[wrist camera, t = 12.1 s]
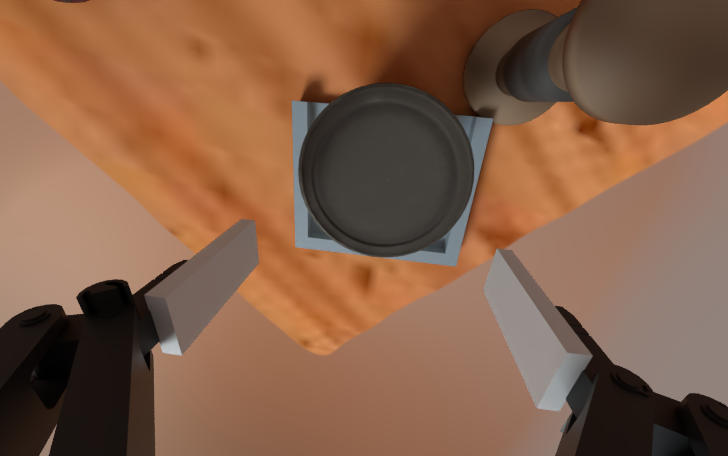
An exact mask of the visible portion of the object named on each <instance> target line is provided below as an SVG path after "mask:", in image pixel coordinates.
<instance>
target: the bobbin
mask: <svg viewBox="0 0 728 456" xmlns="http://www.w3.org/2000/svg"><path fill="white" fill-rule="evenodd" d="M463 88H464V93H465V97H466V100H467V102H468V104H469V106H470V107H471V109H472V110H473V111H474V112H475V113H476V114H477V115H478V116H479V117H483V118H492V119H493V122H492V123H495V124H501V125H518V124H522V123H526V122H528V121H531V120H533V119H535V118H537V117H539V116H540V115H542V114H543V113H545V112H546V111H547V110H548V109H550V108H551V107H552V106H553V105H554V104H555V103H556V102H575V104H576V105H577V106H578V107H579V108H580V109H581V110H582V111H584V112H585V113H586V114H588V115H589V116H591V117H593V118H595V119H598V120H601V121H604V122H609V123H617V124H628V125H653V124H660V123H664V122H669V121H672V120H675V119H678V118H681V117H684V116H686V115H688V114H691V113H693V112H695V111H697V110H699V109H700V108H702V107H704V106H706V105H708V104H709V103H711V102H712V101H714V100H715V99H717V98H718V97H720V96H721V95H722V94H723V93H725V92H726V91H727V90H728V0H582V1H581V2H580V4H579V6H578V7H577V8H575V9H573V10H571V11H569V12H567V13H565V14H563V15H561V16H560V17H557V16H555V15H553V14H552V13H550V12H546V11H543V10H537V9H529V10H522V11H518V12H515V13H512V14H510V15H508V16H506V17H504V18H503V19H501V20H499V21H498V22H497V23H495V24H494V25H493V26H492V27H490V28H489V29H488V30H487V31H486V32H485V33H484V34H483V35H482V36H481V37H480V38H479V39H478V41H477V42H476V43H475V45H474V46H473V48H472V50H471V52H470V54H469V56H468V58H467V61H466V64H465V68H464V74H463Z"/></svg>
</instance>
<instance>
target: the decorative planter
mask: <svg viewBox="0 0 728 456" xmlns="http://www.w3.org/2000/svg"><path fill="white" fill-rule="evenodd" d="M54 1H59V2H67V3H80V2H86V1H89V0H54Z"/></svg>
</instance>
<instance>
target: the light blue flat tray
mask: <svg viewBox="0 0 728 456" xmlns="http://www.w3.org/2000/svg"><path fill="white" fill-rule="evenodd" d="M327 105H329V104H328V103H317V102H306V101H292V124H293V165H294V205H295V245H296V247H299V248H308V249H316V250H324V251H332V252H341V253H349V254H357V255H363V254H359V253H356V252H354V251H351V250H349V249H347V248H345V247H343V246H341V245H340V244H338V243H336V242H335V241H333V240H332V239H331V238H330V237H329V236H327V235H326V234H325V233H324V231H322V230H321V229H320V227H319V226H318V225H317V224H316V222H315V221H314V220H313V218H312V217H311V215H310V213H309V212H308V210H307V207H306V205H305V203H304V200H303V197H302V195H301V190H300V185H299V177H298V165H299V156H300V151H301V147H302V144H303V141H304V138H305V136H306V134H307V132H308V130H309V128H310V126H311V125H312V123H313V121H314V120H315V119H316V118H317V116H318V115H319V114H320V113H321V112H322V110H323V109H324V108H325V107H326V106H327ZM455 116H456V117H457V119H458V120H459V122H460V123H461V125H462V126H463V128H464V130H465V132H466V134H467V136H468V138H469V141H470V144H471V147H472V151H473V158H474V183H473V188H472V193H471V196H470V199H469V202H468V204H467V207H466V209H465V210H464V212H463V214H462V216H461V217H460V219H459V220H458V221H457V223H456V224H455V225H454V226H453V228H452V229H451V230H450V231H449V232H448V233H447V234H446V235H445V236H443V237H442V238H441V239H440V240H438V241H437V242H436V243H434V244H432V245H431V246H429V247H427V248H425V249H423V250H420V251H418V252H416V253H412V254H408V255H404V256H399V257H382V258H390V259H398V260H407V261H415V262H423V263H431V264H440V265H448V266H456V264H457V260H458V256H459V252H460V248H461V244H462V240H463V237H464V233H465V229H466V225H467V221H468V217H469V213H470V209H471V205H472V201H473V197H474V193H475V189H476V185H477V181H478V177H479V173H480V169H481V166H482V162H483V158H484V154H485V150H486V146H487V142H488V138H489V134H490V130H491V126H492V122H493V119H492V118H483V117H475V116H464V115H455ZM365 256H367V255H365Z"/></svg>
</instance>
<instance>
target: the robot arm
mask: <svg viewBox="0 0 728 456" xmlns="http://www.w3.org/2000/svg"><path fill="white" fill-rule="evenodd" d="M258 263H259V258H258V248H257V237H256V227H255V221H254V220H246V219H241V220H240V221H238V222H237V223H236V224H234V225H233V226H232V227H231V228H229V229H228V230H227V231H225V232H224V233H223V234H222V235H220V236H219V237H218V238H217V239H215V240H214V241H213V242H211V243H210V244H209V245H208V246H206V247H205V248H204V249H202V250H201V251H200V252H199V253H197V254H196V255H195V256H193V257H192V258H191V259H190V260H183V261H181V262H179V263H176V264H174V265H172V266H171V267H170V268H168V269H167V270H165V271H164V272H163V274H160V275H159V276H157V277H156V278H155V280H152V281H151V282H149V283H148V284H147V285H145V286H144V287H143V288H141V289H140V290H139V291H137V292H136V293H135V294H133V295H132V293H131V290H130V288H129V285H128V282H126V281H124V280H116V279H115V280H107V281H103V282H99V283H96V284H94V285H92V286H89V287H87V288H86V289H84V290H83V291H82V292H80V293H79V294H78V296H77V297H76V298H77V300H78V303H79V304H80V307H81V309H82V311H83V313H84V314H77V315H66V314H65V312H64V310H63V308H62V306H60V305H56V304H51V305H43V306H38V307H34V308H32V309H28V310H25V311H24V312H22V313H20V314H18V315H16V316H14V317H13V318H11V319H10V320H9V321H8V322H6V323H5V324H4V325H3V326H2V327H1V328H0V456H39V455H40V453H41V451H42V449H43V448H44V446H45V444H46V442H47V441H48V439H49V437H50V435H51V434H52V432H53V430H54V428H55V426H56V425H57V427H56V430H55V434H54V438H53V442H52V445H51V449H50V454H49V456H155V424H154V368H153V354H152V351H151V349H152V348H153V347H154V346H155V345H156V344H157V343H158V342H159V343H160V346H161V349H162V352H163V353H168V354H175V355H183V354H184V352H185V351H186V350H187V349H188V347H189V346H190V345H191V344H192V343H193V341H194V340H195V339H196V338H197V337H198V335H199V334H200V333H201V332H202V331H203V329H204V328H205V327H206V326H207V325H208V323H209V322H210V321H211V320H212V318H213V317H214V316H215V315H216V314H217V313H218V311H219V310H220V309H221V308H222V307H223V305H224V304H225V303H226V302H227V300H228V299H229V298H230V297H231V296H232V295H233V293H234V292H235V291H236V290H237V289H238V287H239V286H240V285H241V284H242V283H243V281H244V280H245V279H246V278H247V277H248V275H249V274H250V273H251V272H252V271H253V269H254V268H255V267H256V266H257V265H258ZM483 291H484V294H485V296H486V298H487V300H488V302H489V305H490V306H491V309H492V311H493V313H494V315H495V318H496V320H497V322H498V324H499V326H500V329H501V331H502V333H503V335H504V337H505V340H506V342H507V344H508V346H509V348H510V351H511V353H512V355H513V357H514V359H515V361H516V364H517V366H518V368H519V370H520V372H521V375H522V377H523V379H524V381H525V383H526V386H527V388H528V390H529V392H530V394H531V397H532V399H533V401H534V403H535V405H536V408H540V409H547V410H554V411H560V409H561V408H562V406H563V404H564V403H565V401H567V402H568V404H569V406H570V408H571V409H572V411H573V412H572V413H571V415H570V416H569V418H568V419H567V421H566V423H565V424H564V426H563V427H562V429H561V432H562V433H563V435H562V438H561V441H560V444H559V446H558V449H557V452H556V455H555V456H728V407H727V406H726V405H724V404H722V403H721V402H718V401H716V400H714V399H712V398H710V397H707V396H704V395H700V394H696V393H693V394H692V393H690V394H688V395H687V396H686V397H685V398H684V399H683V400H682V401H681V402H679V401H677V400H674V399H671V398H669V397H666V396H663V395H660V394H658V393H655V392H653V390H652V389H651V388H650V387H649V385H648V384H647V383H646V382H645V381H644V380H642V379H641V378H640V377H639V376H637V375H636V374H634V373H632V372H631V371H629V370H627V369H625V368H623V367H620V366H617V365H614V364H613V363H612V362H611V360H610V359H609V358H608V357H607V355H606V354H605V353H604V352H603V351H602V349H601V348H600V347H599V346H598V345H597V343H596V342H595V341H594V340H593V339H592V337H591V336H589V334H588V333H587V331H586V330H585V329H584V328H582V325H581V324H580V323H579V321H578V320H577V319H576V318H575V317H574V316H573V315H572V314H571V313H570V312H568V311H567V310H565V309H564V308H563V307H560V306H554V305H553V303H552V302H551V301H550V300H549V298H548V297H547V296H546V294H545V293H544V292H543V290H542V289H541V288H540V286H539V285H538V284H537V282H536V281H535V280H534V279H533V277H532V276H531V275H530V273H529V272H528V271H527V270H526V268H525V267H524V266H523V264H522V263H521V262H520V260H519V259H518V258H517V257H516V255H515V254H514V253H513V251H512V250H504V249H497V250H496V253H495V256H494V259H493V262H492V265H491V268H490V272H489V275H488V278H487V281H486V284H485V287H484V290H483Z"/></svg>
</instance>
